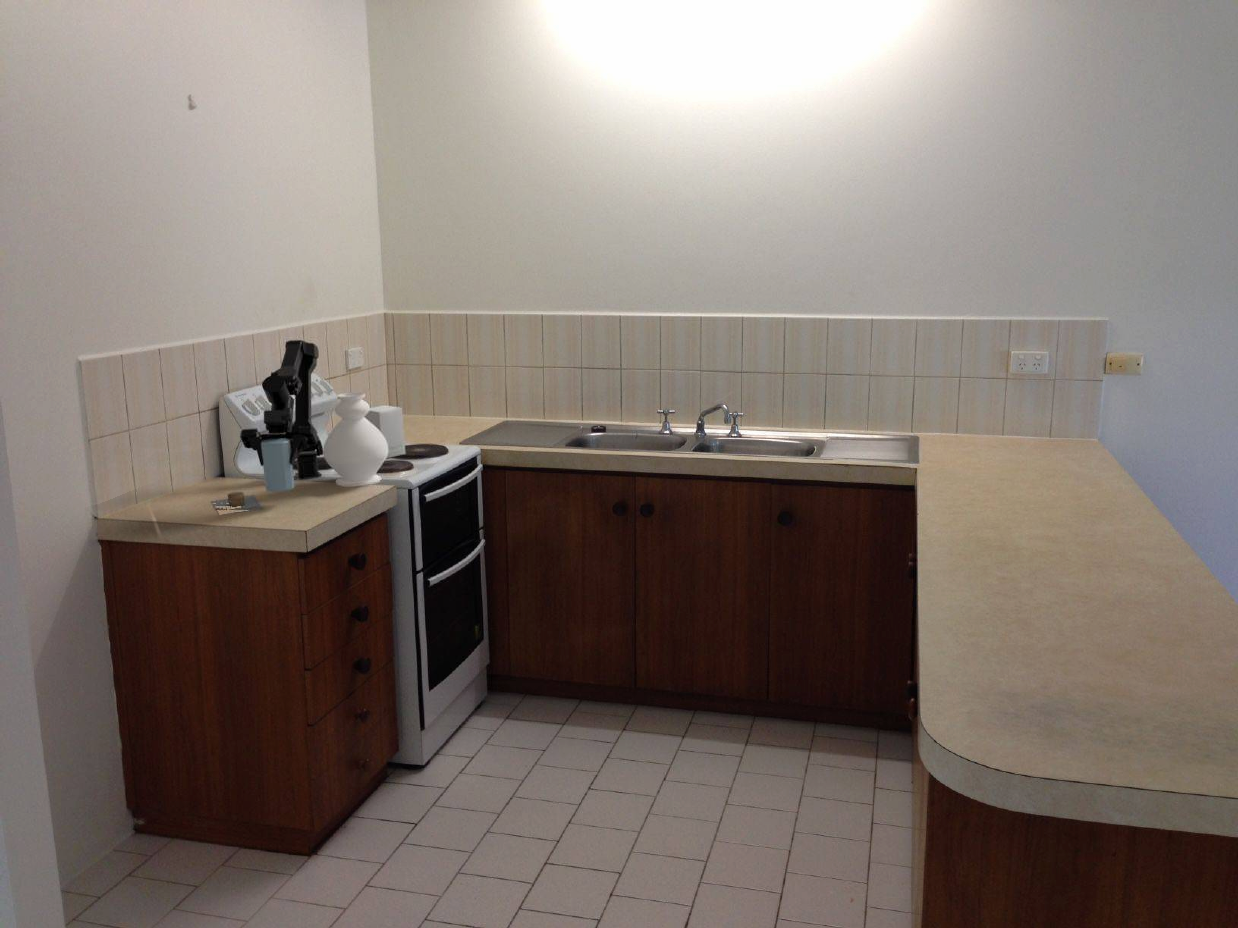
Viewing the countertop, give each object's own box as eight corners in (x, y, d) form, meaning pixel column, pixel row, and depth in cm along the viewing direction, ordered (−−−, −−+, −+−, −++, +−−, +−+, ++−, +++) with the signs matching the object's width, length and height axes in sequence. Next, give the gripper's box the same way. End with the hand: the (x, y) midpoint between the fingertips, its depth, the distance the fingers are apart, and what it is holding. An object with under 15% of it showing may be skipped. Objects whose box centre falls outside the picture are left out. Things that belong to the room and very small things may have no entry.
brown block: (227, 504, 287) (226, 493, 286) (243, 502, 288) (242, 491, 288) (230, 507, 283) (228, 496, 282) (245, 505, 285) (244, 494, 284)
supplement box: (406, 454, 341) (403, 407, 338) (382, 459, 335) (378, 412, 331) (389, 450, 347) (385, 404, 344) (365, 455, 341) (361, 408, 337)
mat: (211, 503, 290) (210, 501, 290) (253, 496, 295) (253, 495, 295) (219, 517, 276) (219, 515, 276) (263, 510, 281) (263, 508, 281)
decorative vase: (314, 483, 308) (305, 396, 302) (366, 470, 321) (359, 387, 315) (350, 492, 297) (342, 402, 291) (403, 479, 309) (396, 392, 304)
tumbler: (264, 486, 286) (258, 440, 283) (291, 483, 289) (286, 437, 286) (268, 492, 279) (263, 445, 276) (296, 488, 283) (291, 442, 280)
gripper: (237, 398, 282) (231, 449, 274) (310, 395, 283) (306, 446, 275) (248, 422, 291) (242, 472, 283) (319, 419, 292) (315, 469, 284)
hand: (276, 464), depth 281 cm, fingers closed on tumbler, 7 cm apart
